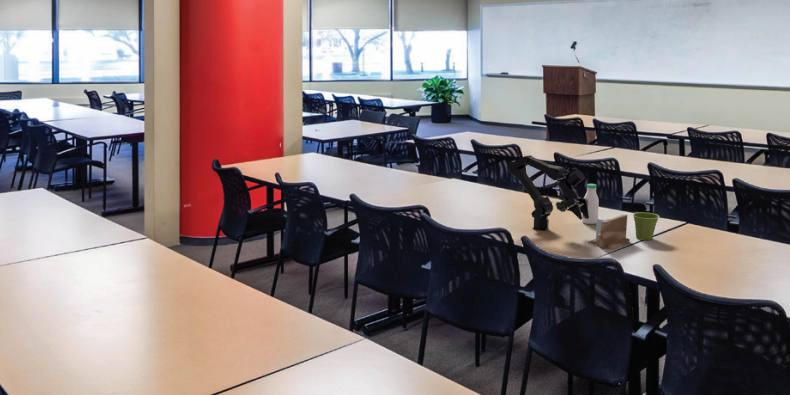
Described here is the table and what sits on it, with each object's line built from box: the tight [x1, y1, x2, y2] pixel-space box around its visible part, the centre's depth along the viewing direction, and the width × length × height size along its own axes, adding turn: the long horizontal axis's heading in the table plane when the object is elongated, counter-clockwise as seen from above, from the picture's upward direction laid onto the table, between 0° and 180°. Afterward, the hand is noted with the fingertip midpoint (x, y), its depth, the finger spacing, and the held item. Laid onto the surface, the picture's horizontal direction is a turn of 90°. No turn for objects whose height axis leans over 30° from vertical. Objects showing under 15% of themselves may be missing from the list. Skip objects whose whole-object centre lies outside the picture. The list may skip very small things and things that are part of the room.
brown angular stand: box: [588, 214, 631, 250], centre depth 332 cm, size 14×20×12 cm
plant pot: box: [632, 211, 660, 241], centre depth 339 cm, size 12×12×11 cm
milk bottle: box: [581, 183, 600, 225], centre depth 368 cm, size 8×8×20 cm
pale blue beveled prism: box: [595, 216, 611, 241], centre depth 334 cm, size 5×5×10 cm
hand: (584, 219), depth 340 cm, fingers open, 9 cm apart
